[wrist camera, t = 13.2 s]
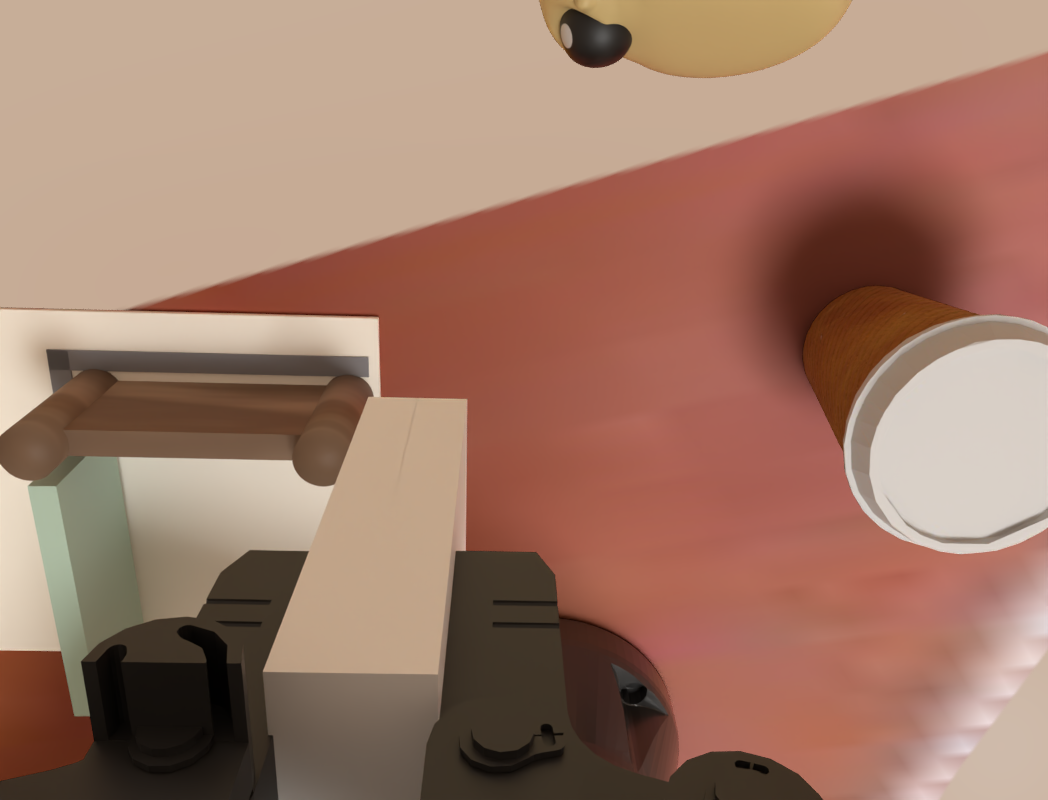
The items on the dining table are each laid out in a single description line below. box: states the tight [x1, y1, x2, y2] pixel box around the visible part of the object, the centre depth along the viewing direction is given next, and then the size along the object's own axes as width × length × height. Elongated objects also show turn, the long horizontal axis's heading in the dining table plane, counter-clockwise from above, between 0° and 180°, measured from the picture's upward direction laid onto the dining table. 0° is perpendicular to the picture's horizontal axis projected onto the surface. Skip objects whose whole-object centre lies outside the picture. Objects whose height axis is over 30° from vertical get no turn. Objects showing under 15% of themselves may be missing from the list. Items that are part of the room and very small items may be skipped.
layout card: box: [0, 307, 381, 651], centre depth 47 cm, size 19×30×1 cm, turn 88°
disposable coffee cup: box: [803, 286, 1048, 554], centre depth 39 cm, size 10×10×12 cm
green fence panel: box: [27, 456, 144, 716], centre depth 44 cm, size 1×12×6 cm, turn 179°
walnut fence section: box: [0, 369, 374, 487], centre depth 42 cm, size 2×14×8 cm, turn 88°
